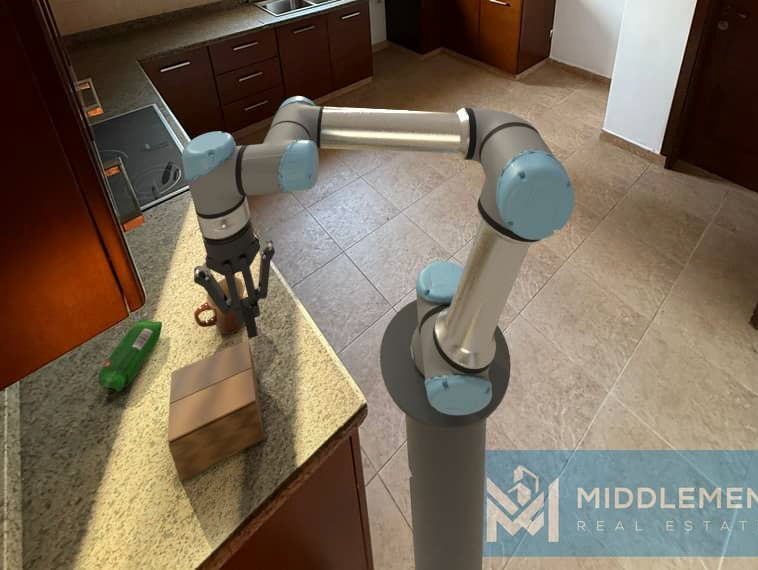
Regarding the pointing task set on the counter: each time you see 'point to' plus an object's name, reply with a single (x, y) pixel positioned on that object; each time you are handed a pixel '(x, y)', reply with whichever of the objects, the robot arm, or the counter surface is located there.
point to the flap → (210, 404)
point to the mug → (222, 321)
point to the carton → (226, 431)
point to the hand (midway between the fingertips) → (252, 330)
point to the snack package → (130, 354)
